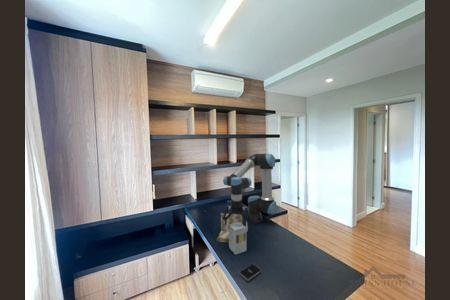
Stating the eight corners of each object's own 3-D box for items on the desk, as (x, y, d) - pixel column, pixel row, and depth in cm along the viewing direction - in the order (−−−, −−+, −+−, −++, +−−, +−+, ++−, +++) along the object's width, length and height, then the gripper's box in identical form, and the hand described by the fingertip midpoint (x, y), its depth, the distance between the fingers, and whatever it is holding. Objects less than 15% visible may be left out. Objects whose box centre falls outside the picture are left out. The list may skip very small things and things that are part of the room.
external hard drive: (239, 275, 94) (238, 272, 94) (252, 266, 101) (252, 263, 101) (247, 283, 89) (247, 279, 88) (261, 273, 95) (261, 269, 95)
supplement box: (235, 255, 111) (234, 230, 110) (228, 247, 119) (228, 224, 119) (247, 250, 115) (246, 226, 115) (239, 243, 124) (239, 221, 123)
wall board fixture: (242, 232, 140) (242, 214, 139) (240, 243, 124) (239, 223, 124) (221, 230, 143) (221, 213, 143) (216, 241, 128) (216, 221, 127)
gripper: (254, 198, 117) (255, 228, 118) (220, 197, 123) (220, 226, 123) (254, 202, 110) (255, 234, 110) (217, 200, 115) (218, 230, 115)
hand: (237, 229), depth 117 cm, fingers open, 13 cm apart
